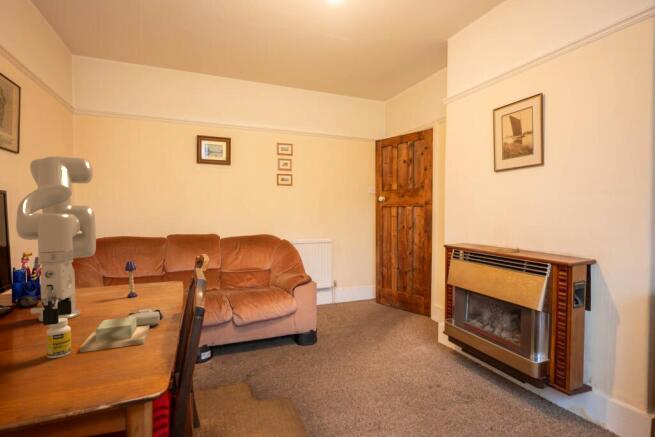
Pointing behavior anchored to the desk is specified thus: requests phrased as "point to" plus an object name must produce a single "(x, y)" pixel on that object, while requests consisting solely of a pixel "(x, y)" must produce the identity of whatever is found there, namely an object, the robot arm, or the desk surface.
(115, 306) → the desk surface
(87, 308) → the desk surface
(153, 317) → the robot toy
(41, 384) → the desk surface
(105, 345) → the base board
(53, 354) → the supplement bottle
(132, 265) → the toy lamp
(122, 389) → the desk surface
